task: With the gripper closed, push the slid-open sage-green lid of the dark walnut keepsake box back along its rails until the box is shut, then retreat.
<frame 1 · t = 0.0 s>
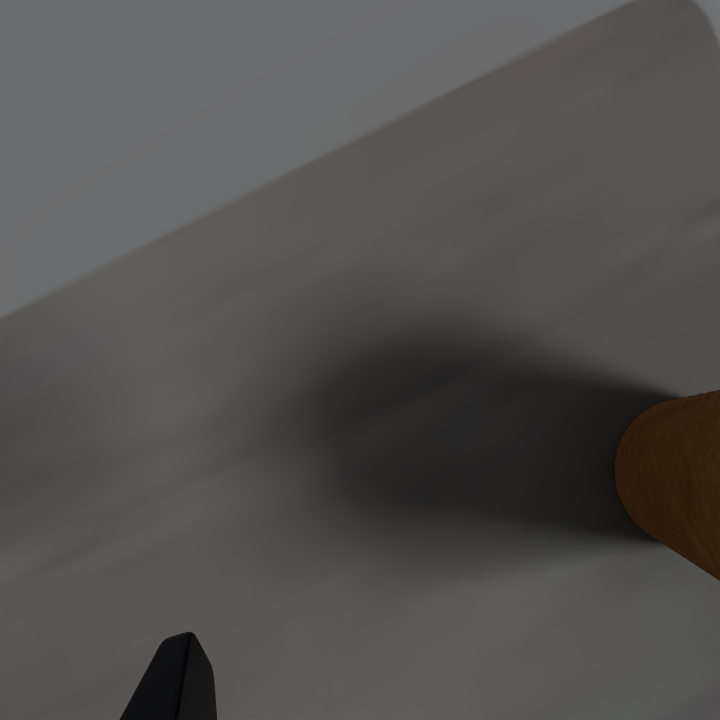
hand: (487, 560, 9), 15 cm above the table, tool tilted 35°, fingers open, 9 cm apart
disposable coffee cup: (680, 471, 24), on the table
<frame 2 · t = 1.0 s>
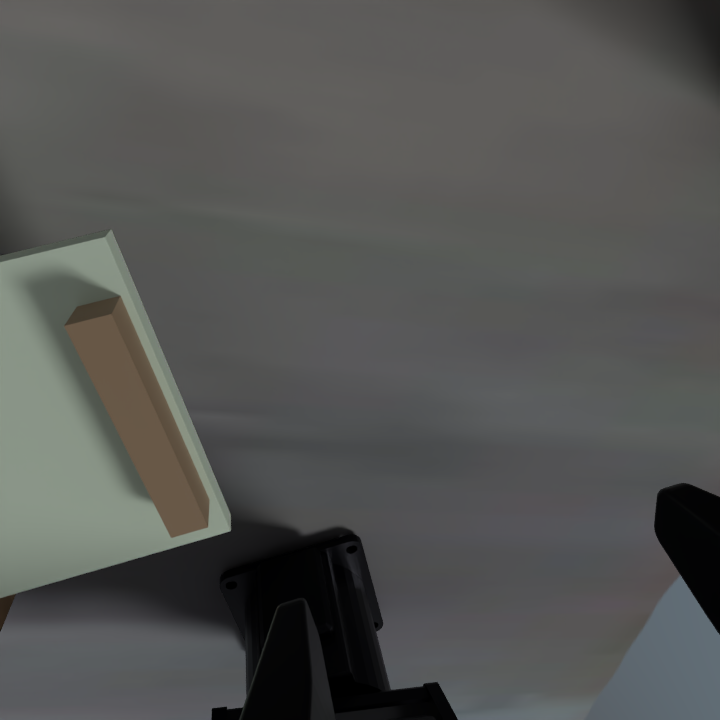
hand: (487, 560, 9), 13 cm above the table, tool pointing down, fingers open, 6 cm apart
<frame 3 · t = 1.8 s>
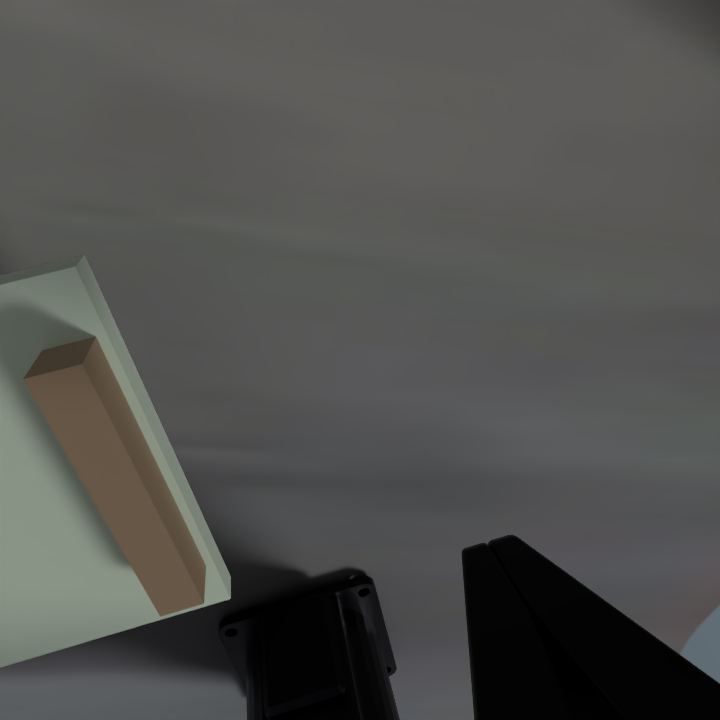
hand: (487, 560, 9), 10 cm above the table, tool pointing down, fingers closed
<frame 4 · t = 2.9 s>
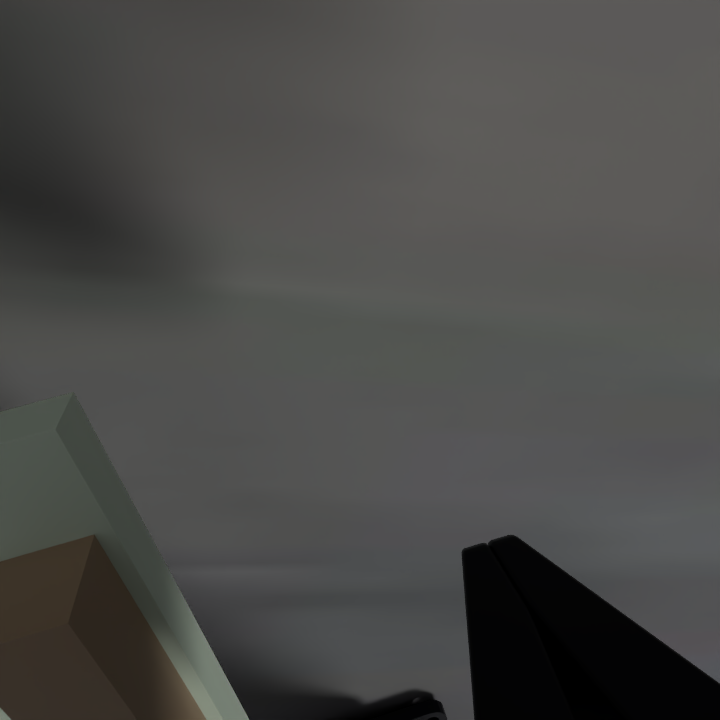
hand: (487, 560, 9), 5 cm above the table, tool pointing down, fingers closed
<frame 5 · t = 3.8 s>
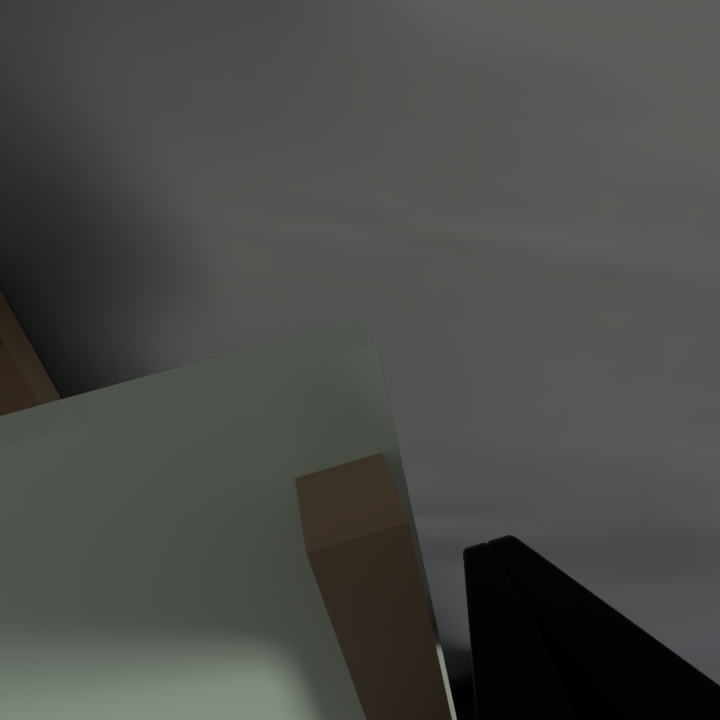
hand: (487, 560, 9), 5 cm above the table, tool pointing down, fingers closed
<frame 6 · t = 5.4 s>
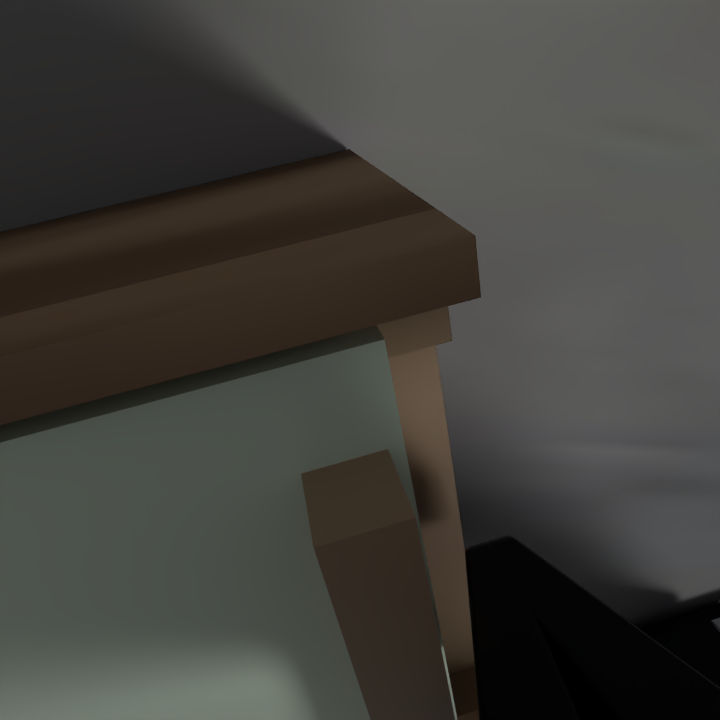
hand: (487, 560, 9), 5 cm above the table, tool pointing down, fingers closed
walnut box: (23, 500, 12), on the table
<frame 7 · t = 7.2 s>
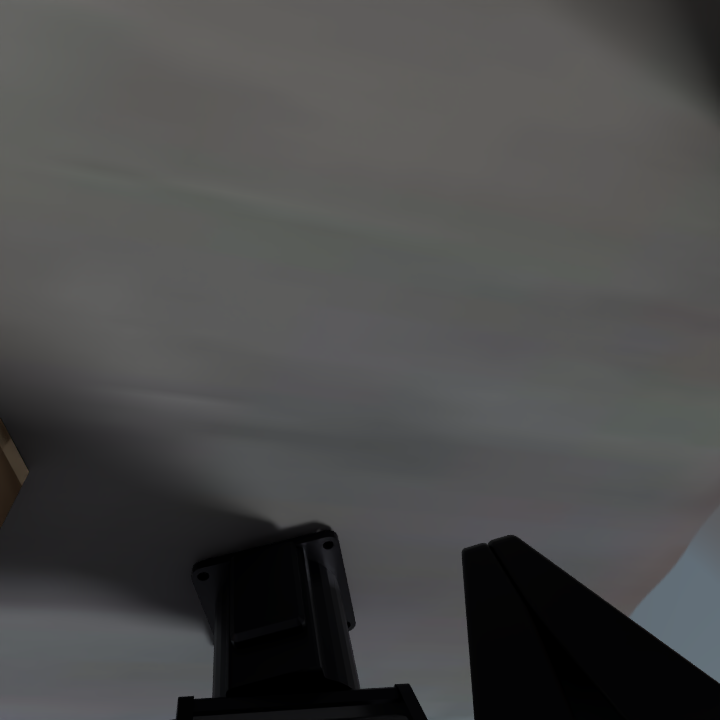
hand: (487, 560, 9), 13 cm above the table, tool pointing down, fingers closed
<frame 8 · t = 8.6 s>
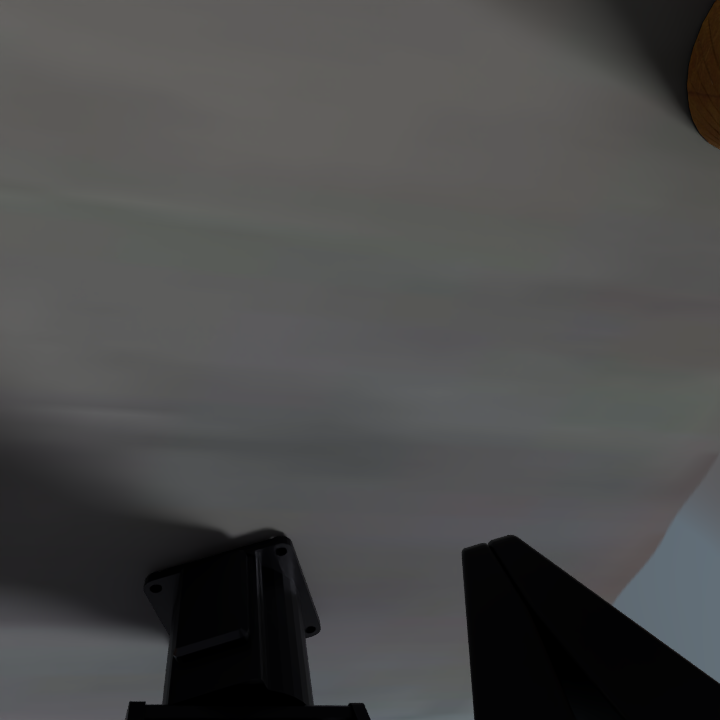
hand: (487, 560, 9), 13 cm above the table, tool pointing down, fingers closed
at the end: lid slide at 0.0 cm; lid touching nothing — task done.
